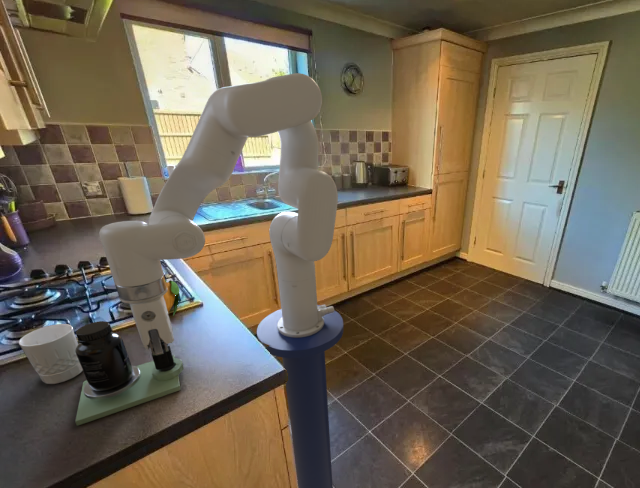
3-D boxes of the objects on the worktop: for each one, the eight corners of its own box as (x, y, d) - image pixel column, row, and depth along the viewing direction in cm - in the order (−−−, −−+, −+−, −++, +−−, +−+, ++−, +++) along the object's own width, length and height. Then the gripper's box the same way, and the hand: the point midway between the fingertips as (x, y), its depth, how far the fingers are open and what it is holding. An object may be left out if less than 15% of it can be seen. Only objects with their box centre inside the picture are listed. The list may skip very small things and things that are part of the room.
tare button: (174, 365, 71) (173, 359, 71) (176, 372, 69) (174, 366, 69) (160, 369, 70) (159, 363, 69) (161, 376, 68) (159, 370, 67)
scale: (181, 356, 76) (179, 347, 75) (187, 387, 67) (185, 378, 66) (85, 385, 67) (80, 376, 66) (77, 426, 58) (72, 415, 57)
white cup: (40, 371, 71) (21, 332, 67) (88, 356, 75) (72, 319, 71) (37, 392, 65) (15, 351, 61) (88, 375, 70) (71, 336, 66)
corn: (176, 271, 102) (172, 298, 86) (183, 292, 105) (181, 322, 89) (148, 276, 99) (139, 306, 83) (156, 298, 102) (149, 331, 86)
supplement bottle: (141, 374, 66) (124, 323, 61) (103, 397, 60) (80, 342, 55) (121, 364, 68) (103, 314, 64) (82, 385, 63) (59, 332, 58)
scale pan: (140, 362, 70) (139, 359, 70) (141, 387, 64) (139, 384, 63) (87, 378, 65) (85, 375, 65) (81, 407, 59) (80, 403, 59)
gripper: (168, 298, 58) (189, 379, 65) (163, 270, 69) (182, 342, 77) (115, 309, 54) (144, 394, 61) (119, 277, 65) (143, 353, 73)
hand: (165, 365), depth 69 cm, fingers closed
